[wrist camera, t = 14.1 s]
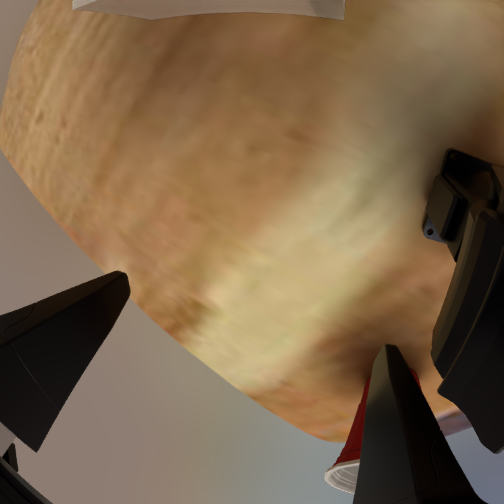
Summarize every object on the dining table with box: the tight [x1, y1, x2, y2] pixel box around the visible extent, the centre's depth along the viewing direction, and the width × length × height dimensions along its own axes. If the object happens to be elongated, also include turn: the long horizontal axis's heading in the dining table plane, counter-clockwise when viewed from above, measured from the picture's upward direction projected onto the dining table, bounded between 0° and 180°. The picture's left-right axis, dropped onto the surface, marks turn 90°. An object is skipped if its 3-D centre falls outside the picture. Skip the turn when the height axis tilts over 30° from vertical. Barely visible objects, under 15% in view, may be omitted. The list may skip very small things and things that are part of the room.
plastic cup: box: [324, 369, 422, 494], centre depth 22 cm, size 11×11×12 cm
